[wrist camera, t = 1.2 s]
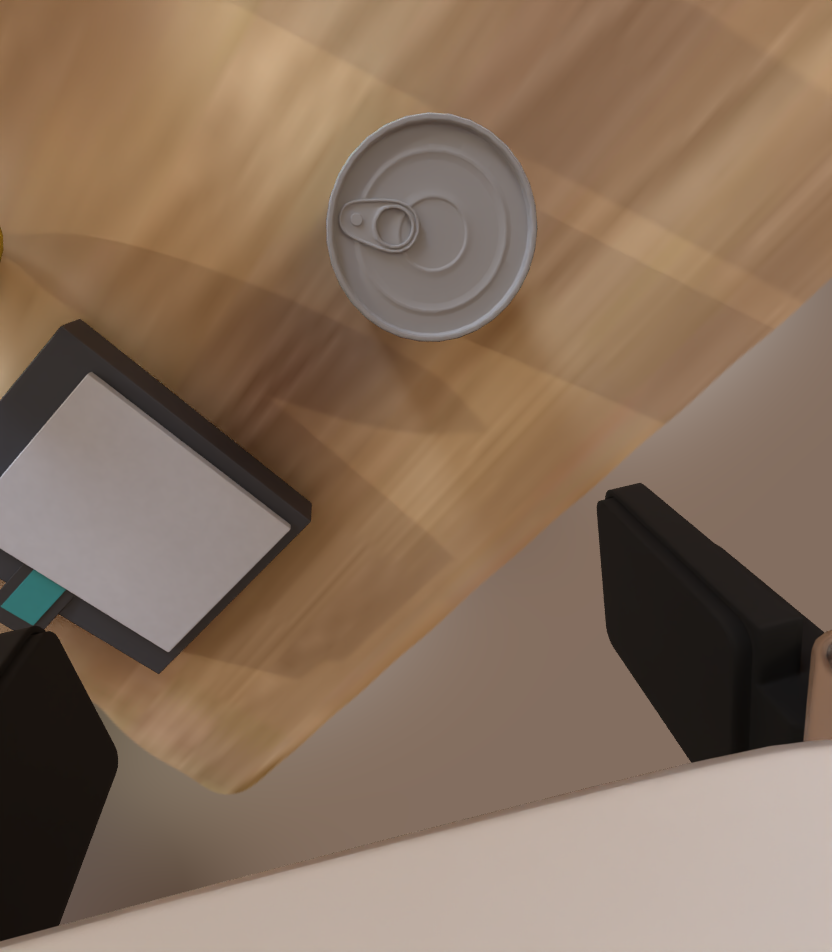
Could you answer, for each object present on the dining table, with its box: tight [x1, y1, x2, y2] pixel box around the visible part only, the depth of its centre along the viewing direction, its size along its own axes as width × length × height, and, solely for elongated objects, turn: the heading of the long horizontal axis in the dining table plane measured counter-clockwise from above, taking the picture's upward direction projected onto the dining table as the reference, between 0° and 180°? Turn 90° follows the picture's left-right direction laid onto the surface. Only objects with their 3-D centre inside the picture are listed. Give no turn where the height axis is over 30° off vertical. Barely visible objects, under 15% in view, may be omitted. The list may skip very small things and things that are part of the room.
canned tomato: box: [326, 113, 537, 342], centre depth 28 cm, size 8×8×11 cm
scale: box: [0, 319, 312, 674], centre depth 35 cm, size 16×16×3 cm
